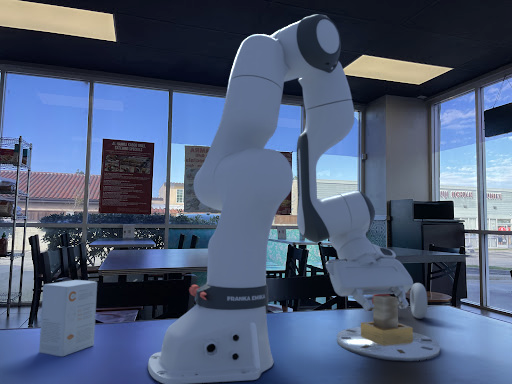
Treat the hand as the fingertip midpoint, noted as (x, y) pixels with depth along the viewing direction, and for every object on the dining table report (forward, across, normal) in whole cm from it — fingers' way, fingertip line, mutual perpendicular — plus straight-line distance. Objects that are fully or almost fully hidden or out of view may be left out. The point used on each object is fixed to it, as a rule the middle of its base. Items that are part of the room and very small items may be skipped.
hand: (387, 308), depth 85 cm
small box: (-7, -64, +19) cm, 67 cm away
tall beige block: (+4, 0, +5) cm, 7 cm away
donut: (-8, +27, +19) cm, 34 cm away
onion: (-12, +20, +24) cm, 34 cm away
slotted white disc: (+5, 0, +6) cm, 8 cm away
